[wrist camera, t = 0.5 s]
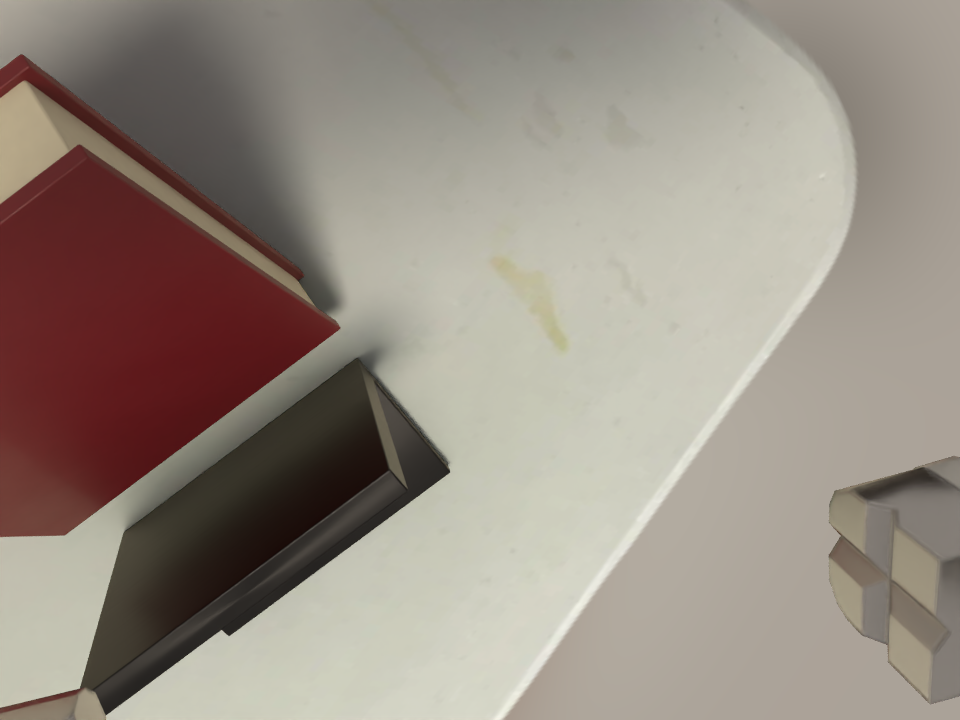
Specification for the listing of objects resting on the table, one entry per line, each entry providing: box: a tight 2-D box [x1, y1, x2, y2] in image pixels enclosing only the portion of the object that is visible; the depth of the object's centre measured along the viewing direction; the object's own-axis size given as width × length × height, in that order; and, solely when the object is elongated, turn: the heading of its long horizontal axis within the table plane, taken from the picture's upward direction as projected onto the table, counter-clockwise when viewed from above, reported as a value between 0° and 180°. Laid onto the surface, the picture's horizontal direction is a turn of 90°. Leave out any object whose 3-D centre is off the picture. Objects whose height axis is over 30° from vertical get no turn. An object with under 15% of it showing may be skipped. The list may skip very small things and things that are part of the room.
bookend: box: [80, 358, 450, 715], centre depth 32 cm, size 6×12×10 cm, turn 125°
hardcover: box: [0, 54, 340, 537], centre depth 26 cm, size 3×13×16 cm
